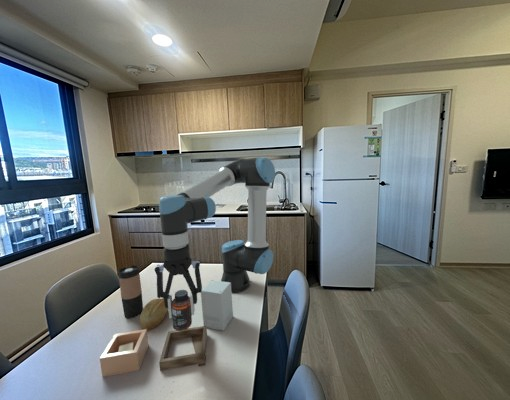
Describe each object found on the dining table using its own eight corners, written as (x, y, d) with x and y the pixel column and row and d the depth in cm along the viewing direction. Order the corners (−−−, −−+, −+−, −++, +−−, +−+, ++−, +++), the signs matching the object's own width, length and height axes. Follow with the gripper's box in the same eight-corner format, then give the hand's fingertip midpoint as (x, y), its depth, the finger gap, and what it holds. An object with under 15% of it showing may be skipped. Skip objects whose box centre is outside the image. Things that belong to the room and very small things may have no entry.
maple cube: (134, 352, 74) (133, 341, 74) (133, 361, 71) (132, 350, 70) (120, 357, 72) (119, 346, 72) (119, 366, 69) (117, 355, 68)
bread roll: (173, 308, 100) (172, 291, 98) (161, 332, 85) (159, 312, 84) (151, 309, 99) (149, 292, 98) (135, 334, 84) (133, 314, 83)
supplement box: (233, 316, 92) (231, 281, 90) (224, 331, 83) (221, 293, 81) (214, 312, 95) (211, 279, 93) (202, 326, 86) (199, 290, 84)
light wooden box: (148, 347, 77) (146, 329, 76) (139, 372, 68) (136, 352, 67) (117, 352, 76) (114, 333, 75) (102, 379, 66) (99, 358, 65)
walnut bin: (206, 334, 82) (206, 325, 82) (205, 364, 69) (204, 354, 69) (169, 340, 80) (168, 331, 79) (160, 373, 67) (159, 362, 67)
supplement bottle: (188, 317, 77) (188, 286, 76) (194, 327, 72) (193, 294, 71) (170, 323, 74) (169, 290, 73) (174, 334, 69) (173, 299, 68)
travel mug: (135, 319, 92) (129, 273, 90) (119, 318, 94) (113, 272, 91) (147, 308, 100) (142, 265, 97) (132, 307, 101) (127, 264, 99)
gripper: (207, 239, 75) (212, 303, 78) (147, 244, 72) (154, 311, 75) (207, 246, 68) (212, 317, 71) (139, 252, 65) (147, 326, 68)
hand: (182, 314), depth 73 cm, fingers closed on supplement bottle, 6 cm apart
